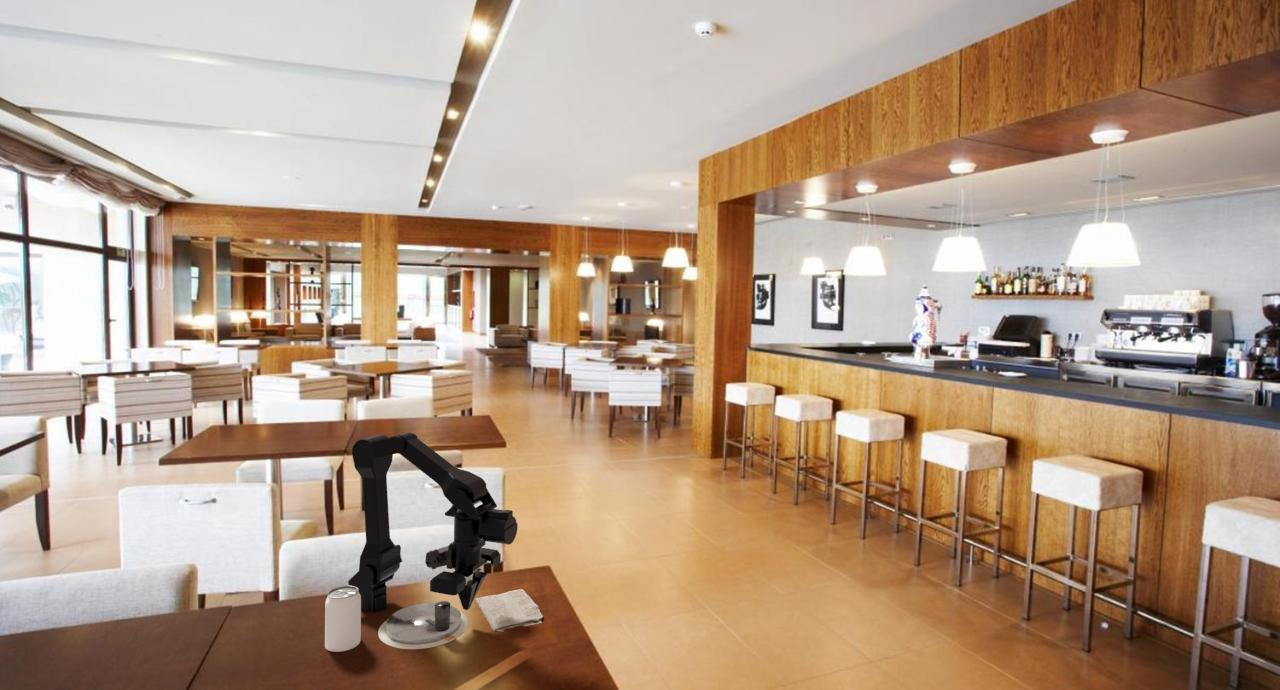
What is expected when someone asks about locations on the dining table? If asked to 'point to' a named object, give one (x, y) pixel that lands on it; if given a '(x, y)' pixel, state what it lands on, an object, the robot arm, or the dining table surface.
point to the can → (342, 619)
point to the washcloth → (509, 610)
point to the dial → (423, 623)
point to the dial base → (392, 643)
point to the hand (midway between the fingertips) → (466, 609)
